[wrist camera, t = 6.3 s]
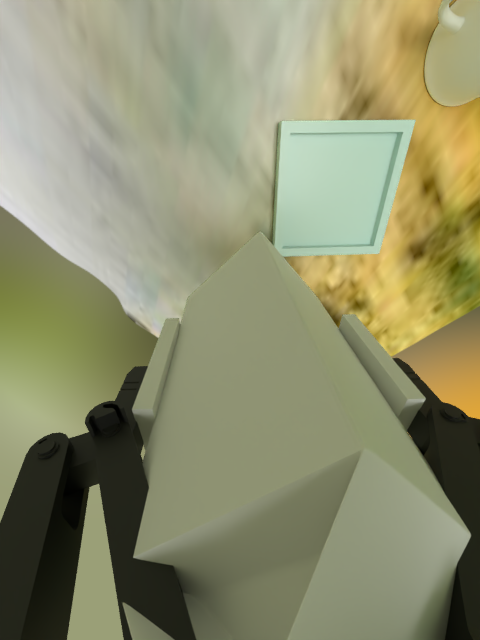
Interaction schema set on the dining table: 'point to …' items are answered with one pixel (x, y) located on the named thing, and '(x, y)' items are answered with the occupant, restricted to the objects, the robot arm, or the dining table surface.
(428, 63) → the mug
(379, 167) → the tray
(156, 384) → the robot arm
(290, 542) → the milk carton
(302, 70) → the dining table surface
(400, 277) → the dining table surface
